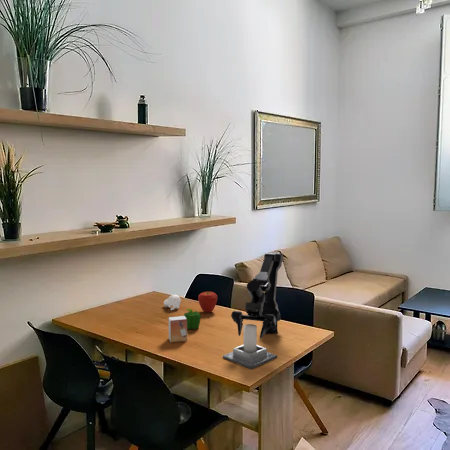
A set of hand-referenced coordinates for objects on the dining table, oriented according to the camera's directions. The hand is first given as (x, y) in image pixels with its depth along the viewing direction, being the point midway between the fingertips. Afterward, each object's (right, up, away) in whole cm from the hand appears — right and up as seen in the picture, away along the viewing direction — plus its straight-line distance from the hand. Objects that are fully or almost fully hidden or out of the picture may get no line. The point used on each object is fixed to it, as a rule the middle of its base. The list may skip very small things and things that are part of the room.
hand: (249, 336), depth 182 cm
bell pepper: (-27, -6, +40) cm, 48 cm away
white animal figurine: (-42, -3, +74) cm, 85 cm away
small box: (-32, -8, +23) cm, 40 cm away
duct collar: (0, -9, +1) cm, 9 cm away
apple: (-20, -3, +66) cm, 69 cm away
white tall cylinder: (0, -8, +1) cm, 8 cm away
